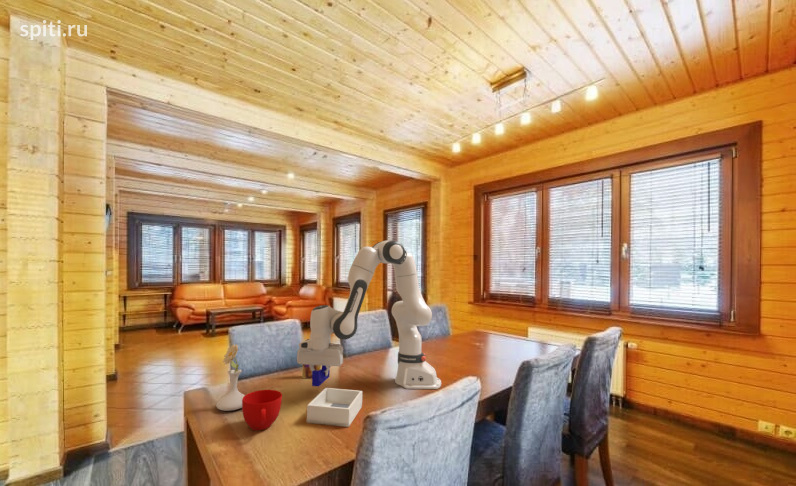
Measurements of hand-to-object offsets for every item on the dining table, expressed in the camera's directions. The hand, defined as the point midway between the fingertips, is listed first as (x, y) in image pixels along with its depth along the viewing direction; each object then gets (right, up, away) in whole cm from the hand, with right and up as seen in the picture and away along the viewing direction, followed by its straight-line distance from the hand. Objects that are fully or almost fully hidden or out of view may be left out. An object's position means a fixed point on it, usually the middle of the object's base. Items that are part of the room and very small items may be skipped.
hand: (319, 375), depth 146 cm
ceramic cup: (-13, -6, -31) cm, 34 cm away
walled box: (+11, -7, -19) cm, 23 cm away
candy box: (-9, -10, +22) cm, 25 cm away
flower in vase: (-30, -7, -16) cm, 35 cm away
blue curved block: (0, -3, 0) cm, 3 cm away
